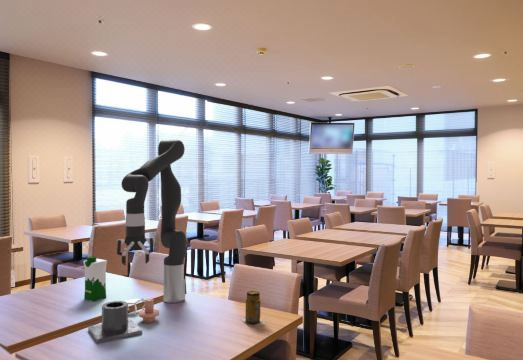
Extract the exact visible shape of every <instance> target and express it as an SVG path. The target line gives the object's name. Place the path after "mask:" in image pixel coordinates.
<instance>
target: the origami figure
mask: <svg viewBox="0 0 523 360" xmlns="http://www.w3.org/2000/svg"><path fill="white" fill-rule="evenodd" d="M145 300H146V299H144V298H133V299H127V300H125V301H124V302H127V303H128V305H134V315H137V311H138V307H137V303H138V304H139V302H141V301H142V302H143V303H145ZM141 309H142V310H145V304H144V305H143V306H142V307H141ZM129 311H130V308H129V306H128V312H129Z"/></svg>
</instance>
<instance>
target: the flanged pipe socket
mask: <svg viewBox="0 0 523 360" xmlns="http://www.w3.org/2000/svg"><path fill="white" fill-rule="evenodd" d="M128 307H129V304H128V303H127V302H125V301H123V300H113V301H109V302H105V303H103V304H102V305H101V324H96V325H91V326H88V327H87V329H88V332H89V334H90V335H91V337H92V338H93V340H94V341H95V343H96V344H101V343H106V342H112V341H116V340H120V339H125V338H130V337H134V336H139V335H143V329H141V327H139V325H137V323H136V322H134V321H133V320H132V319H131V318H129V311H128Z"/></svg>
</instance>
